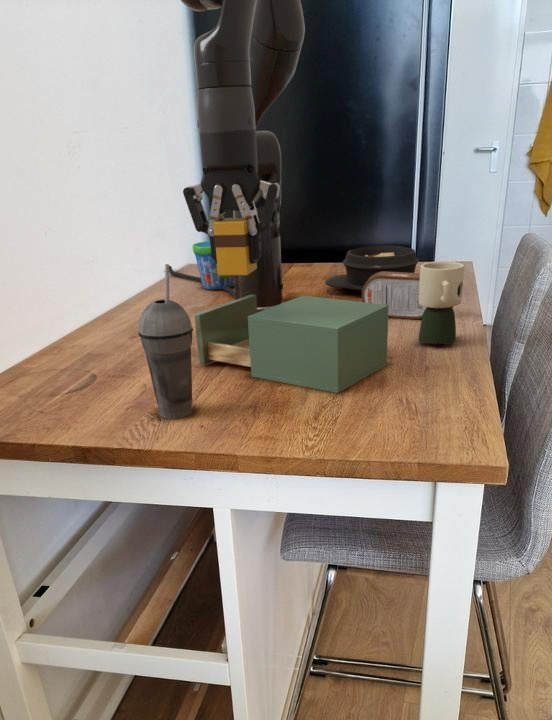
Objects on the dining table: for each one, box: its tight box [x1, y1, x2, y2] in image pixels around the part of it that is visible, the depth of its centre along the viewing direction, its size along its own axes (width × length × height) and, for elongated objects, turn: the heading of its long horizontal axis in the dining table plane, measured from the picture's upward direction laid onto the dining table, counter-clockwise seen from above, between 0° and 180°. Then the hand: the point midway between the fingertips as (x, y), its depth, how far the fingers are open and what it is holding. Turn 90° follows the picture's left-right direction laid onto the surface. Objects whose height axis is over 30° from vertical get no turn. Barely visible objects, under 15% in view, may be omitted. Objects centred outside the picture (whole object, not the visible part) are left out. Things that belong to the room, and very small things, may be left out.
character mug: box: [418, 261, 465, 347], centre depth 119 cm, size 11×7×13 cm, turn 179°
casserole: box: [324, 245, 420, 294], centre depth 159 cm, size 25×19×8 cm
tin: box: [361, 271, 427, 320], centre depth 137 cm, size 15×3×8 cm, turn 65°
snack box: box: [214, 217, 257, 275], centre depth 101 cm, size 5×4×7 cm
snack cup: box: [192, 240, 235, 291], centre depth 169 cm, size 16×10×10 cm
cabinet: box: [248, 295, 389, 394], centre depth 110 cm, size 16×15×10 cm
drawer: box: [194, 295, 258, 368], centre depth 117 cm, size 17×15×8 cm
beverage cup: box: [137, 263, 194, 420], centre depth 95 cm, size 7×7×20 cm
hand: (236, 262), depth 102 cm, fingers closed on snack box, 4 cm apart
